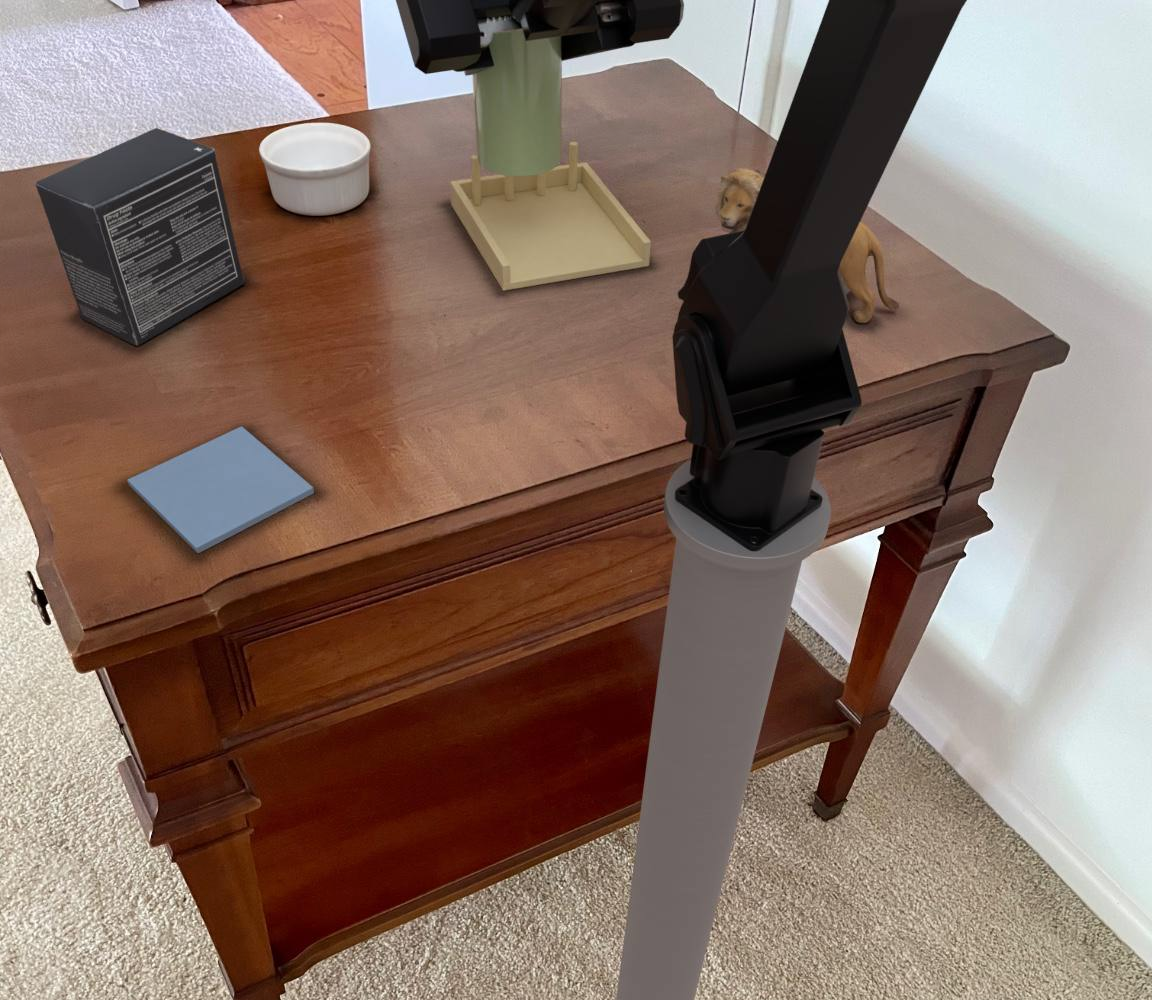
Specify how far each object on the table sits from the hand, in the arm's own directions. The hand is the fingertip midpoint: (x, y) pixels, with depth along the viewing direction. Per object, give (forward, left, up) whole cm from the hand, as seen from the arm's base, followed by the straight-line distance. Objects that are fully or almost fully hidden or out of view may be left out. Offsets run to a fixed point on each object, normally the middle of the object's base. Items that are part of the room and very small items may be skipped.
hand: (509, 61), depth 82 cm
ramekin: (+15, +8, -14) cm, 22 cm away
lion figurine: (-21, -10, -14) cm, 27 cm away
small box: (+9, +26, -14) cm, 31 cm away
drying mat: (-12, +34, -13) cm, 38 cm away
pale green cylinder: (-1, 0, -6) cm, 7 cm away
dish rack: (-2, -2, -13) cm, 14 cm away
